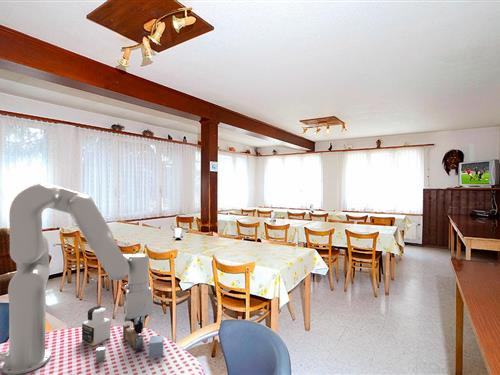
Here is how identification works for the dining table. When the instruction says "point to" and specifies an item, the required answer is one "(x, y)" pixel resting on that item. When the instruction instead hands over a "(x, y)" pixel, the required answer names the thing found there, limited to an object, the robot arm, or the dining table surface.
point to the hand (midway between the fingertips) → (138, 332)
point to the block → (156, 346)
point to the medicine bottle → (96, 326)
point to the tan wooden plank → (129, 335)
